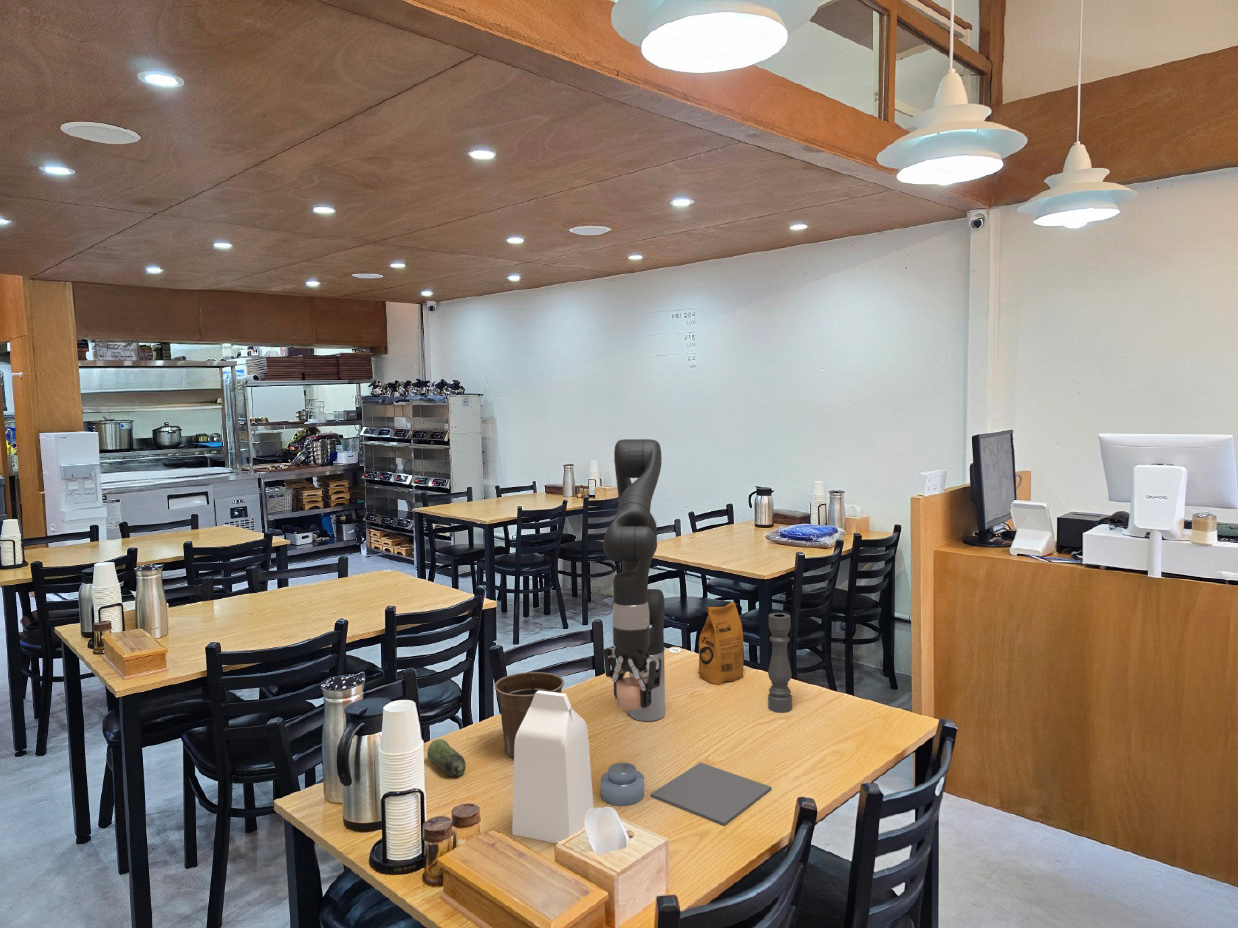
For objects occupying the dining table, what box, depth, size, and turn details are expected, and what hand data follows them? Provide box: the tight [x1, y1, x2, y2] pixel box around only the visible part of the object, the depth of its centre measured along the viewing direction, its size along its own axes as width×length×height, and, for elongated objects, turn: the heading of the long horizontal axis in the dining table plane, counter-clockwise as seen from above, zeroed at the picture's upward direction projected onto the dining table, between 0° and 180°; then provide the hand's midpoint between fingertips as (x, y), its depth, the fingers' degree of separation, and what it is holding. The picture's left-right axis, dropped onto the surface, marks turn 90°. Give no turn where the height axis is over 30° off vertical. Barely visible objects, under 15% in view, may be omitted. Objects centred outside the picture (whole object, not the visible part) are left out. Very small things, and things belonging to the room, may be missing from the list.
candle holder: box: [767, 612, 793, 714], centre depth 203 cm, size 6×6×25 cm
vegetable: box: [426, 738, 466, 777], centre depth 173 cm, size 14×5×5 cm, turn 36°
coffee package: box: [698, 601, 744, 686], centre depth 227 cm, size 10×12×22 cm
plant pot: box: [494, 671, 565, 759], centre depth 181 cm, size 16×16×16 cm
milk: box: [511, 690, 595, 844], centre depth 148 cm, size 12×12×26 cm
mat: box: [650, 761, 772, 827], centre depth 159 cm, size 18×18×1 cm
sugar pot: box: [600, 762, 645, 807], centre depth 159 cm, size 9×9×6 cm
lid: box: [616, 676, 646, 710], centre depth 158 cm, size 6×6×4 cm
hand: (632, 702), depth 158 cm, fingers closed on lid, 6 cm apart
